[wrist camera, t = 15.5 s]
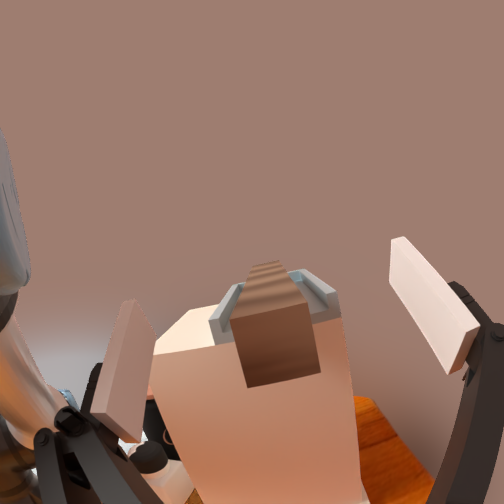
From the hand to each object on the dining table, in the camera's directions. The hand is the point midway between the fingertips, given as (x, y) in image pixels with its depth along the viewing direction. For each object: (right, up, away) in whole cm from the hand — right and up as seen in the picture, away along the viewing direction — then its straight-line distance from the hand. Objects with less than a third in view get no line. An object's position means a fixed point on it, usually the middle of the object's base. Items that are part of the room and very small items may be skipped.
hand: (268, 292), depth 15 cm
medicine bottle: (-15, -40, +23) cm, 48 cm away
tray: (+2, -5, +24) cm, 24 cm away
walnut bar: (+2, -4, +16) cm, 17 cm away
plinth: (+5, -35, +25) cm, 43 cm away
